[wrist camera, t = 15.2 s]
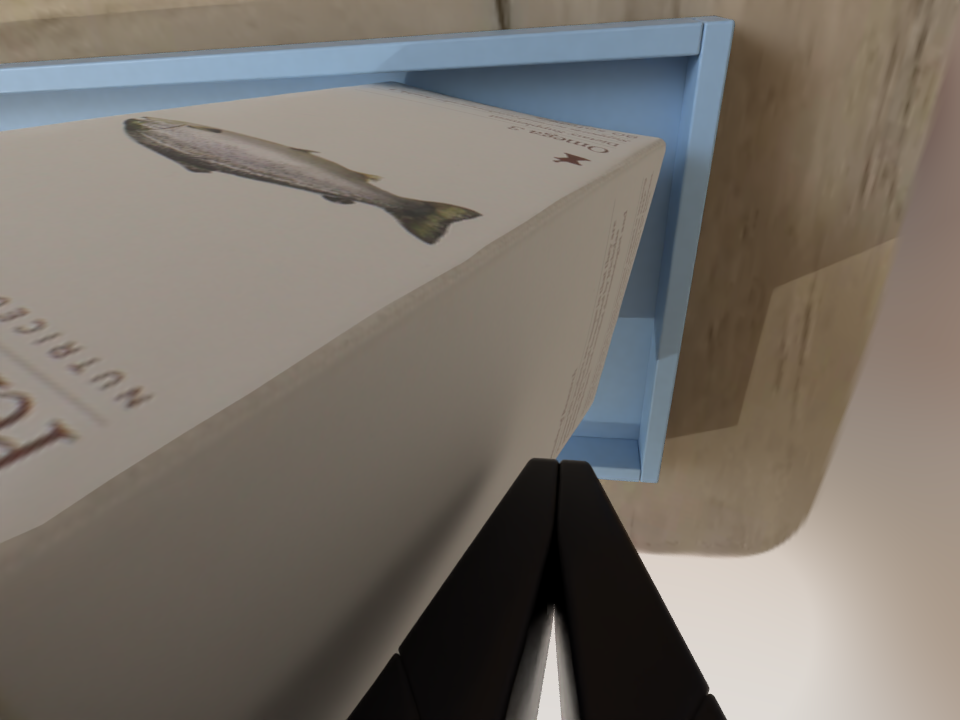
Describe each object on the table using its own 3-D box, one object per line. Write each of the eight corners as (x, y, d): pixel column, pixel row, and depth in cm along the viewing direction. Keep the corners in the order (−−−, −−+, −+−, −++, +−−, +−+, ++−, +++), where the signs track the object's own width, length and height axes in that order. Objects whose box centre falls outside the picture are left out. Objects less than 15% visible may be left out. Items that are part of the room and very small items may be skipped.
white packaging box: (680, 132, 11) (-150, 707, 2) (596, 405, 15) (222, 991, 6) (390, 68, 14) (-563, 175, 4) (388, 317, 18) (-97, 637, 9)
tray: (717, 15, 12) (736, 19, 11) (652, 443, 20) (658, 483, 18) (-96, 70, 16) (-171, 79, 15) (102, 409, 24) (66, 440, 22)
